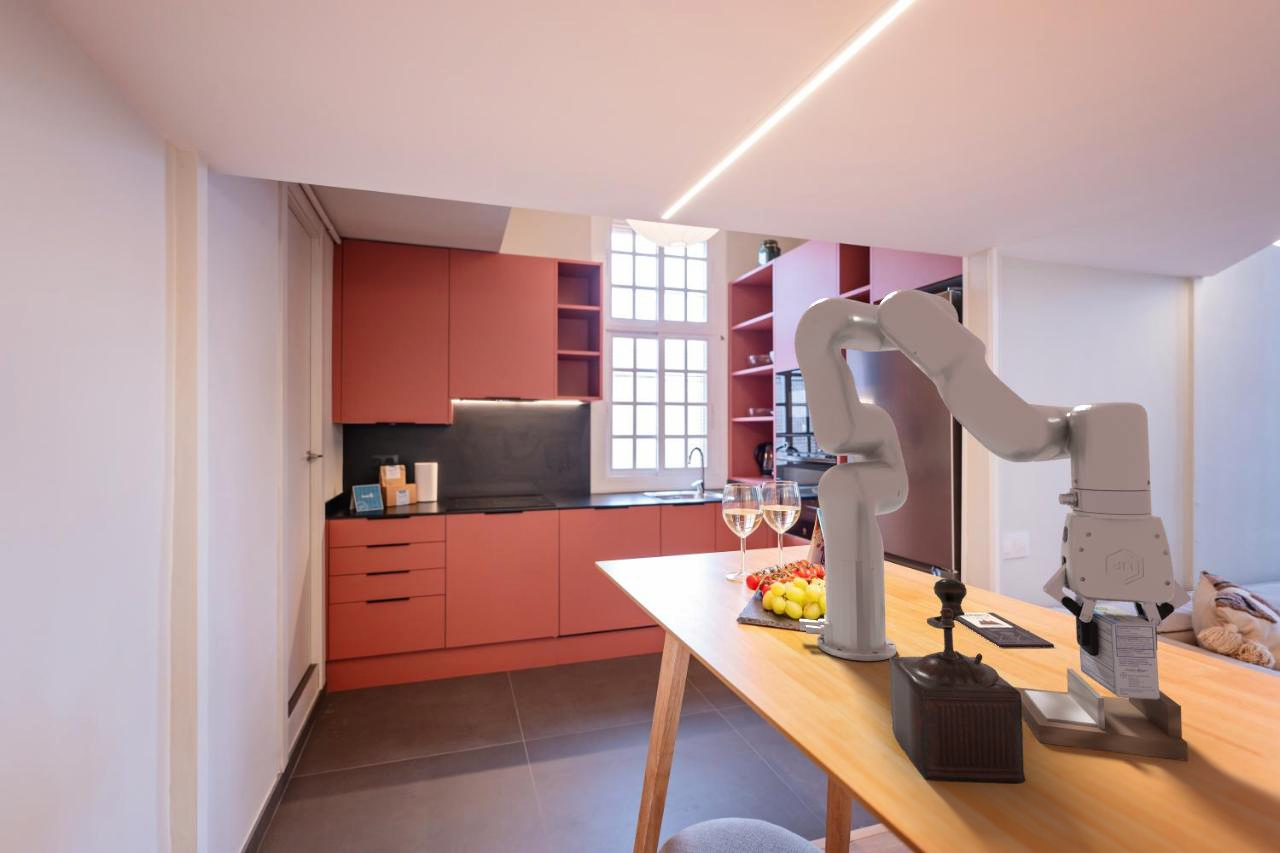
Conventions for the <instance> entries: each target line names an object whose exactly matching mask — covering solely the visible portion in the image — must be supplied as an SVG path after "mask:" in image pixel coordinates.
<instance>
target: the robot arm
mask: <svg viewBox="0 0 1280 853" xmlns="http://www.w3.org/2000/svg"><path fill="white" fill-rule="evenodd" d="M842 349H844V350H851V351H858V352H867V353H869V352H874V353H875V352H887V351H888V352H889V351H890V352H891V351H900V352H901V353H902V354H903V355H905V357H906V358H908V359H909V360H910V362H912V363H913V364H914V365H915V366H916V367H917V368H918V369H919V370H920V371H921V373H923V374H924V375H925V376H926V377H927V378H929V380H930V381H932V383H934V385H935V386H936V389H937V392H938V394H939V396H940V398H941V399H942V401H943V403H944V405H945V407H946V408H947V410H948V411H949V413H950V414H951V415H952V416H953V417H954V419H955V420H956V421H957V422H958V423H959V424H960V425H961V426H962V427H963V428H964V429H965V430H967V432H968V433H969V434H970V435H972V437H974V438H975V439H976V440H977V442H978V443H979V444H981V446H983V447H984V448H986V450H988V451H989V452H991V453H992V454H993V455H995V456H997V457H999V458H1000V459H1002V460H1005V461H1008V462H1012V463H1031V462H1038V463H1039V462H1049V461H1057V460H1066V459H1070V475H1071V476H1070V478H1071V480H1070V481H1071V487H1069V492H1066V493H1060V494H1058V503H1059V505H1062V506H1063V505H1064V506H1065V505H1067V507H1070V509H1071V510H1072V512H1067V513H1066V516H1065V521H1064V525H1063V532H1062V535H1061V537H1062V538H1061V544H1060V546H1061V547H1060V562H1059V563H1060V564H1059V565H1060V567H1059V569H1058V570H1056V572H1055V573H1054V574H1053V575H1052V576H1050V577H1051V578H1049V580H1047V582H1045V584H1044V585H1043V587H1042V590H1043V592H1044V593H1046V594H1047V595H1048V596H1050V597H1052V598H1053V599H1054V600H1056V601H1057V602H1058V603H1060V604H1061V605H1062V606H1064V607H1065V608H1066V610H1068V611H1069V612H1070V613H1071V614H1072V615H1073V616H1074V617H1075V632H1076V634H1075V635H1076V643H1077V644H1078V645H1079V647H1080V646H1081V647H1082V649H1083V650H1084V651H1086V652H1087V653H1088V654H1089V655H1091V656H1097V655H1098V627H1097V624H1096V623H1095V622H1093V617H1092V616H1093V613H1094V609H1095V606H1096V605H1097V602H1098V601H1108V602H1123V603H1124V602H1126V603H1133V607H1134V609H1135V611H1136V616H1138V617H1140V618H1142V619H1144V620H1146V621H1148V622H1150V623H1152V624H1153V625H1155V631H1156V647H1157V648H1158V630H1157V628H1159V627H1160V626H1161V625H1162V624H1163V621H1164V620H1166V618H1168V617H1170V615H1172V614H1173V612H1175V610H1176V609H1177V610H1178V609H1179V608H1181V607H1183V606H1184V605H1186V604H1188V603H1190V601H1191V600H1192V598H1191V597H1192V596H1190V594H1189V593H1188V592H1187V591H1186V590H1185V589H1184V588H1183V587H1182V586H1181V585H1180V583H1178V582H1177V581H1176V580H1175V575H1174V574H1175V573H1174V568H1173V567H1174V566H1173V562H1172V555H1171V550H1170V545H1169V541H1168V536H1167V532H1166V530H1165V529H1166V528H1165V525H1164V523H1163V520H1162V518H1161V517H1160V516H1156V515H1153V514H1152V512H1153V511H1152V492H1151V467H1150V465H1151V464H1150V445H1149V444H1150V442H1149V441H1150V440H1149V438H1150V437H1149V421H1148V420H1149V418H1148V413H1147V410H1146V409H1145V407H1144V406H1143V405H1141V404H1139V403H1136V402H1127V401H1123V402H1119V401H1117V402H1116V401H1112V402H1093V403H1085V404H1079V405H1077V406H1075V407H1070V406H1058V405H1057V406H1055V405H1045V404H1031V403H1028V402H1026V401H1025V400H1024V399H1023V398H1022V397H1021V396H1019V395H1018V394H1017V393H1016V392H1015V391H1013V390H1012V389H1011V388H1010V387H1009V386H1008V385H1007V384H1005V383H1004V382H1003V380H1001V379H1000V378H999V377H998V376H997V375H996V374H995V373H994V372H993V371H992V370H991V368H990V367H989V365H988V363H987V361H986V354H987V346H986V344H985V343H984V341H983V340H981V338H979V337H978V336H976V335H975V334H974V333H973V332H971V331H970V330H969V329H968V328H966V326H964V325H963V324H962V323H960V322H959V315H958V312H957V309H956V308H955V306H954V305H953V303H951V302H950V300H948V299H947V298H945V297H942V296H940V295H936V294H933V293H929V292H926V291H923V290H919V289H914V288H913V289H912V288H905V289H899V290H898V289H897V290H895V291H893V292H891V293H890V294H888V295H887V296H885V297H884V299H882V300H881V302H880V303H879V304H871V303H866V302H864V301H863V302H862V301H858V300H853V299H850V298H843V297H827V298H822V299H819V300H817V301H815V302H813V303H812V304H811V305H810V306H809V307H807V309H806V310H805V311H804V312H803V314H802V316H801V317H800V319H799V322H798V324H797V327H796V329H795V332H794V353H795V358H796V362H797V365H798V369H799V370H800V374H801V377H802V381H803V387H804V389H805V390H804V391H805V395H806V396H805V397H806V402H807V406H808V410H809V416H810V421H811V426H812V431H813V435H814V438H815V442H816V445H817V446H818V448H819V449H820V450H821V451H822V452H823V453H825V454H827V455H831V456H837V457H838V456H839V457H840V456H851V458H852V461H851V462H843V463H839V464H836V465H833V466H832V467H830V468H828V469H827V470H826V471H825V472H824V473H823V474H822V476H821V477H820V479H819V482H818V485H817V500H818V505H819V511H820V514H821V519H822V526H823V541H824V570H825V572H824V574H825V575H824V581H825V582H824V583H825V585H824V586H825V614H824V615H823V618H818V620H811V619H808V618H799V630H800V631H806V632H805V633H806V634H807V635H818V636H817V639H816V640H817V642H816V643H817V646H818V648H819V649H821V651H823V652H825V653H827V654H829V655H830V656H834V657H837V658H842V659H846V660H852V661H861V662H877V661H884V660H888V659H890V657H895V655H896V654H897V645H896V643H895V642H894V641H893V640H892V639H890V638H889V637H886V636H887V635H886V634H887V633H886V594H885V593H886V592H885V591H886V590H885V589H886V588H885V587H886V586H885V583H886V582H885V555H884V554H885V551H884V548H885V547H884V540H883V534H882V533H881V528H880V526H879V523H878V520H877V517H876V516H881V515H886V514H890V513H893V512H896V511H898V510H899V509H900V508H902V506H904V505H905V503H906V501H907V500H908V495H909V491H910V490H909V476H908V472H907V470H906V469H907V468H906V464H905V460H904V456H903V452H902V448H901V443H900V439H899V434H898V432H897V428H896V425H895V422H894V420H893V419H892V417H891V416H890V414H889V413H888V412H887V411H886V409H884V408H882V407H881V406H879V405H877V404H874V403H870V402H869V403H868V402H861V400H860V397H859V395H858V391H857V387H856V382H855V381H856V380H855V377H854V374H853V372H852V370H851V367H850V366H849V364H848V362H847V361H846V359H845V358H844V356H843V354H842ZM1063 588H1066V589H1067V590H1070V591H1071V592H1073V593H1074V594H1075V595H1074V599H1073V598H1072V597H1070V596H1069V595H1067V594H1066V593H1065V592H1064V591H1063Z"/></svg>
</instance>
